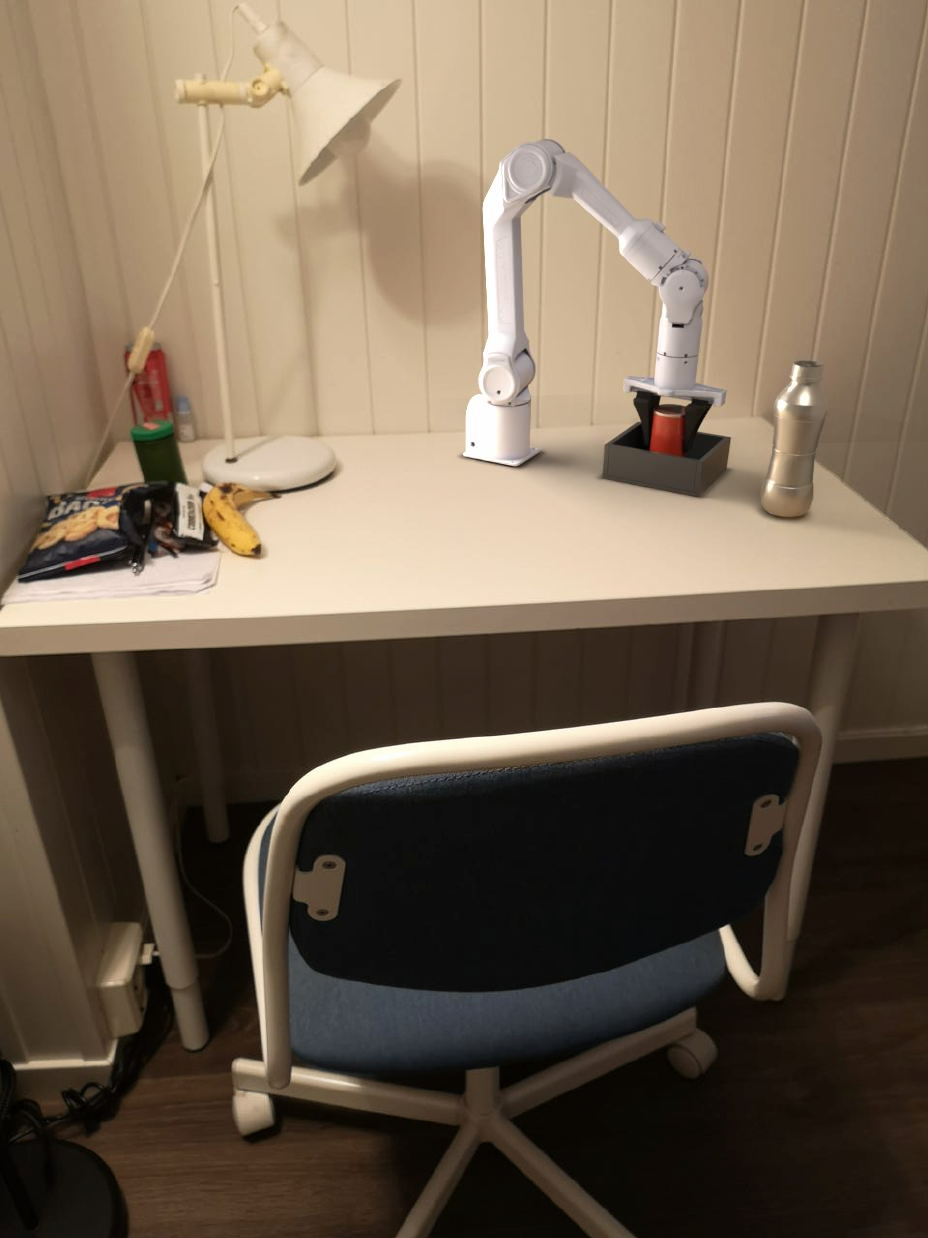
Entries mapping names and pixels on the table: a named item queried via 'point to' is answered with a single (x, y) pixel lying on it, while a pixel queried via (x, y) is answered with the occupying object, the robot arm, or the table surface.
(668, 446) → the tin can
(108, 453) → the table surface
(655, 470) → the drawer
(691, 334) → the robot arm
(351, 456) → the table surface
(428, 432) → the table surface
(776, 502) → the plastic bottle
